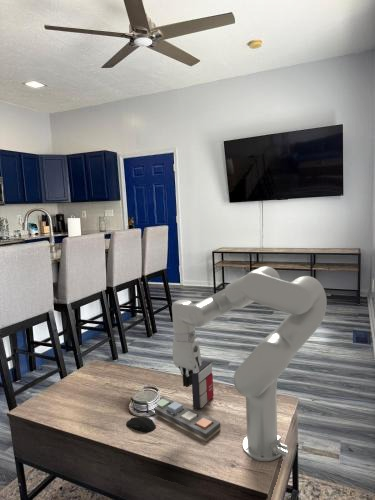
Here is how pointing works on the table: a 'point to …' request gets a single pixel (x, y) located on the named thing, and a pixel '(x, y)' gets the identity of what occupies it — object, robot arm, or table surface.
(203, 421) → the key terracotta
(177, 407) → the key slate
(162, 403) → the key sage
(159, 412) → the keypad
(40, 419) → the table surface
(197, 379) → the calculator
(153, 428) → the gaming mouse
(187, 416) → the key ivory
